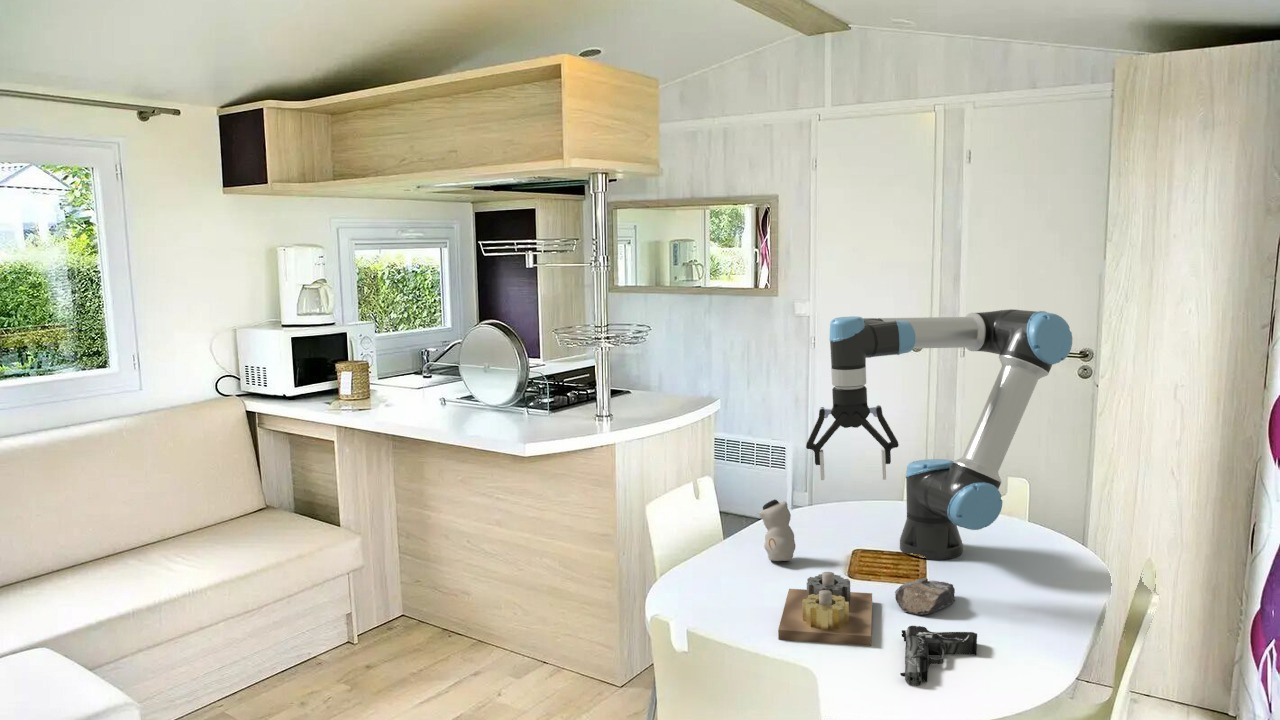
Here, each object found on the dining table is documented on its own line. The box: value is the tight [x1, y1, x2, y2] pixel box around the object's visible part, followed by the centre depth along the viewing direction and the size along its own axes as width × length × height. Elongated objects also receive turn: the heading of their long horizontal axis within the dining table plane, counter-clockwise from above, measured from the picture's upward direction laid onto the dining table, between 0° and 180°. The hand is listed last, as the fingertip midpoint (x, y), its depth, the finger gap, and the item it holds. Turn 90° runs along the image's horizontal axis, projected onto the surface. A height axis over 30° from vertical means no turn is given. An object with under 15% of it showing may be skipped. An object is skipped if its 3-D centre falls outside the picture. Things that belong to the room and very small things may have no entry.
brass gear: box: [802, 594, 849, 630], centre depth 184 cm, size 9×9×4 cm
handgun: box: [899, 625, 978, 686], centre depth 169 cm, size 20×3×14 cm
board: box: [777, 571, 873, 647], centre depth 189 cm, size 18×22×8 cm
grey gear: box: [806, 573, 851, 603], centre depth 194 cm, size 9×9×4 cm
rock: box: [894, 577, 956, 616], centre depth 195 cm, size 14×11×5 cm
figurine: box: [758, 499, 796, 562], centre depth 225 cm, size 9×10×15 cm
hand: (853, 478), depth 205 cm, fingers open, 13 cm apart
